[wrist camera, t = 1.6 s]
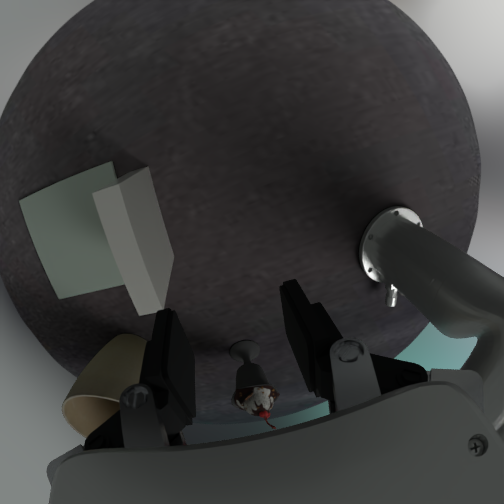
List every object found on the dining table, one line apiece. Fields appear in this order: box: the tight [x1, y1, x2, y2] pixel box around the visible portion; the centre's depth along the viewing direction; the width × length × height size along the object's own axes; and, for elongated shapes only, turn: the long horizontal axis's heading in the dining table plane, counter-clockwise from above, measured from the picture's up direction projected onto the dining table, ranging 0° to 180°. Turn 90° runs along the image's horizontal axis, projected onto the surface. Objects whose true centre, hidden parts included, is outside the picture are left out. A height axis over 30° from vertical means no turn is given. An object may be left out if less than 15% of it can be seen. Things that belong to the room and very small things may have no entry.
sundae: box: [230, 340, 280, 429], centre depth 37 cm, size 7×7×15 cm
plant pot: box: [62, 334, 147, 438], centre depth 33 cm, size 15×15×16 cm
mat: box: [19, 161, 125, 299], centre depth 31 cm, size 16×16×1 cm
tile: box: [92, 166, 174, 316], centre depth 27 cm, size 12×3×12 cm, turn 10°
